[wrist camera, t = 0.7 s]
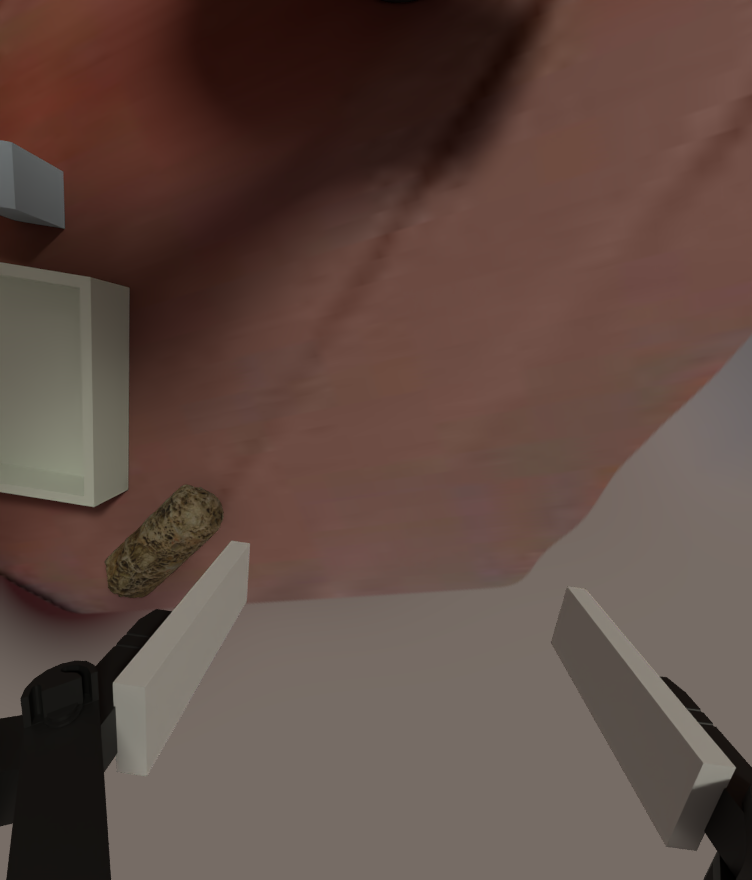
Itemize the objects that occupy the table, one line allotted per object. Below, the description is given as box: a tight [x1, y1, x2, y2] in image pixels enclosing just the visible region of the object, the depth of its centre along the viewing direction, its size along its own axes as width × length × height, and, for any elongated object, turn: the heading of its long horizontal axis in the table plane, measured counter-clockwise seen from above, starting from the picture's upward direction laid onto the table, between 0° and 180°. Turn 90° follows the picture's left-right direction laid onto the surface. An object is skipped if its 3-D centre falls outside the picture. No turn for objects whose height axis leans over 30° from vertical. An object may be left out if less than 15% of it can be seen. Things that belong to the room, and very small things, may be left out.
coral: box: [105, 485, 224, 598], centre depth 40 cm, size 14×6×6 cm, turn 132°
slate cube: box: [0, 140, 65, 229], centre depth 33 cm, size 5×5×5 cm
